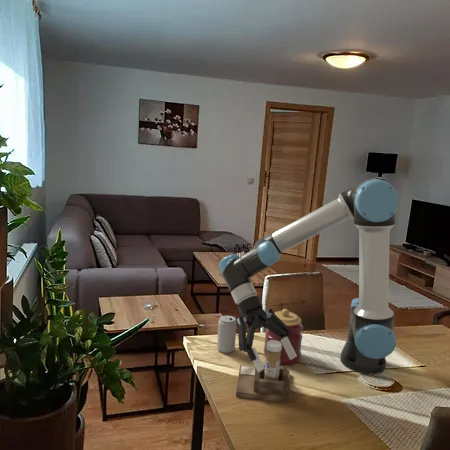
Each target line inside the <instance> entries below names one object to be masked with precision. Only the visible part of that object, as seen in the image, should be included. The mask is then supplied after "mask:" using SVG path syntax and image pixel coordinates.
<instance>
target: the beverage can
mask: <svg viewBox="0 0 450 450" xmlns="http://www.w3.org/2000/svg"><path fill="white" fill-rule="evenodd" d="M217 322H218V324H217V325H218V326H217V345H216V348H217V350H218V351H220V352H221V353H222V354H230V353H232V352H233V351H235V349H236V339H237V338H236V333H237V323H236V317H235V316H232V315H222V316H220V317H219V320H218V321H217Z"/></svg>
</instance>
